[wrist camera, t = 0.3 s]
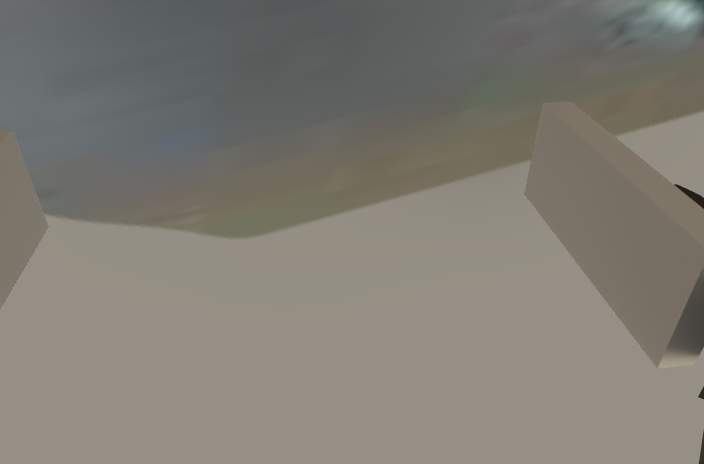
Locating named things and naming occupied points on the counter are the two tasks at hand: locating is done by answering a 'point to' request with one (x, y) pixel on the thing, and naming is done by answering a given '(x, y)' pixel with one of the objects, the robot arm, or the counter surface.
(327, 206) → the counter surface
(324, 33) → the counter surface
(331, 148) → the counter surface
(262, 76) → the counter surface
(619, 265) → the robot arm
